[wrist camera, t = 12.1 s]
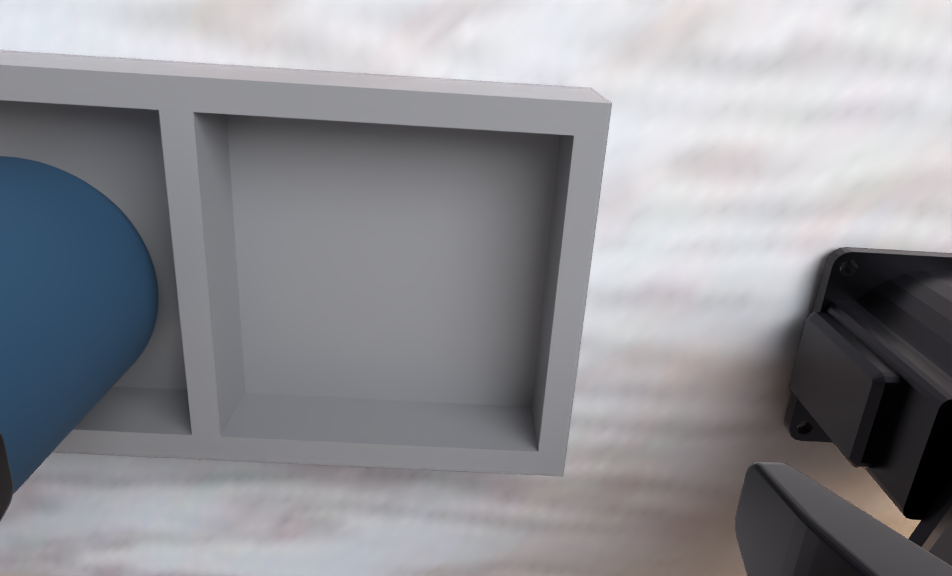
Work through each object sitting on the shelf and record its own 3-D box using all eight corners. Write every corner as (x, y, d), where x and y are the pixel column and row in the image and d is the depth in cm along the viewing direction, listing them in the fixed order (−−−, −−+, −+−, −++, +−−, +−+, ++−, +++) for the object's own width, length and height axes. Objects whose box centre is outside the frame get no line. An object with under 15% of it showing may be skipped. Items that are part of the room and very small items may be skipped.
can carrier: (591, 88, 20) (611, 103, 17) (552, 419, 24) (563, 476, 21) (-174, 39, 19) (-284, 46, 16) (-81, 388, 23) (-158, 442, 20)
